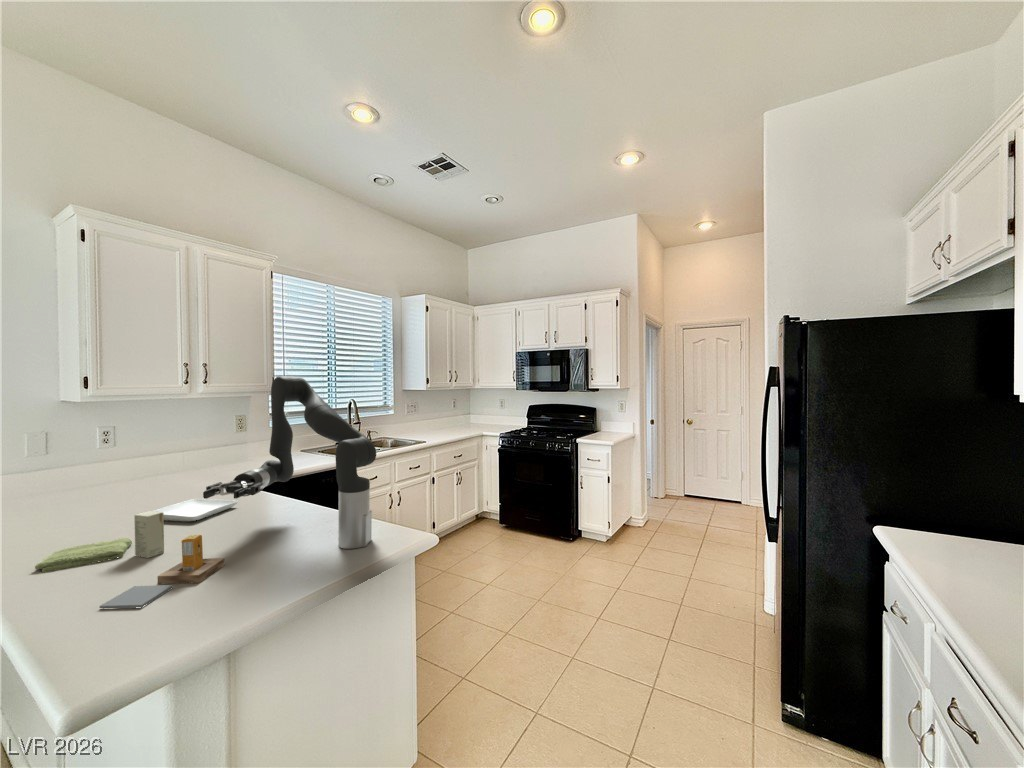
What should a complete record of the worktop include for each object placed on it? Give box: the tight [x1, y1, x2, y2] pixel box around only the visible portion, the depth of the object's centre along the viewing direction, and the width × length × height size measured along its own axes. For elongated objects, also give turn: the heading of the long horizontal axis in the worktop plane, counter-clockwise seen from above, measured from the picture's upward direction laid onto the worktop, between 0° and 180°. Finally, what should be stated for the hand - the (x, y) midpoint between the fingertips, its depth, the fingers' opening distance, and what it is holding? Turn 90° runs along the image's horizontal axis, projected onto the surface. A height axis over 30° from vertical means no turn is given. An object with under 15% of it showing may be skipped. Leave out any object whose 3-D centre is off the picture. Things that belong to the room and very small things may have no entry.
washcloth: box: [34, 537, 133, 573], centre depth 118 cm, size 13×18×3 cm
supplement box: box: [181, 534, 204, 571], centre depth 108 cm, size 3×3×10 cm
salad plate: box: [153, 498, 239, 522], centre depth 158 cm, size 21×21×3 cm
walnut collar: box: [157, 557, 225, 585], centre depth 108 cm, size 10×10×2 cm
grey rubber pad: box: [98, 584, 174, 609], centre depth 96 cm, size 9×9×1 cm
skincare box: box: [134, 510, 165, 559], centre depth 121 cm, size 6×4×12 cm
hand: (219, 495), depth 119 cm, fingers open, 8 cm apart
